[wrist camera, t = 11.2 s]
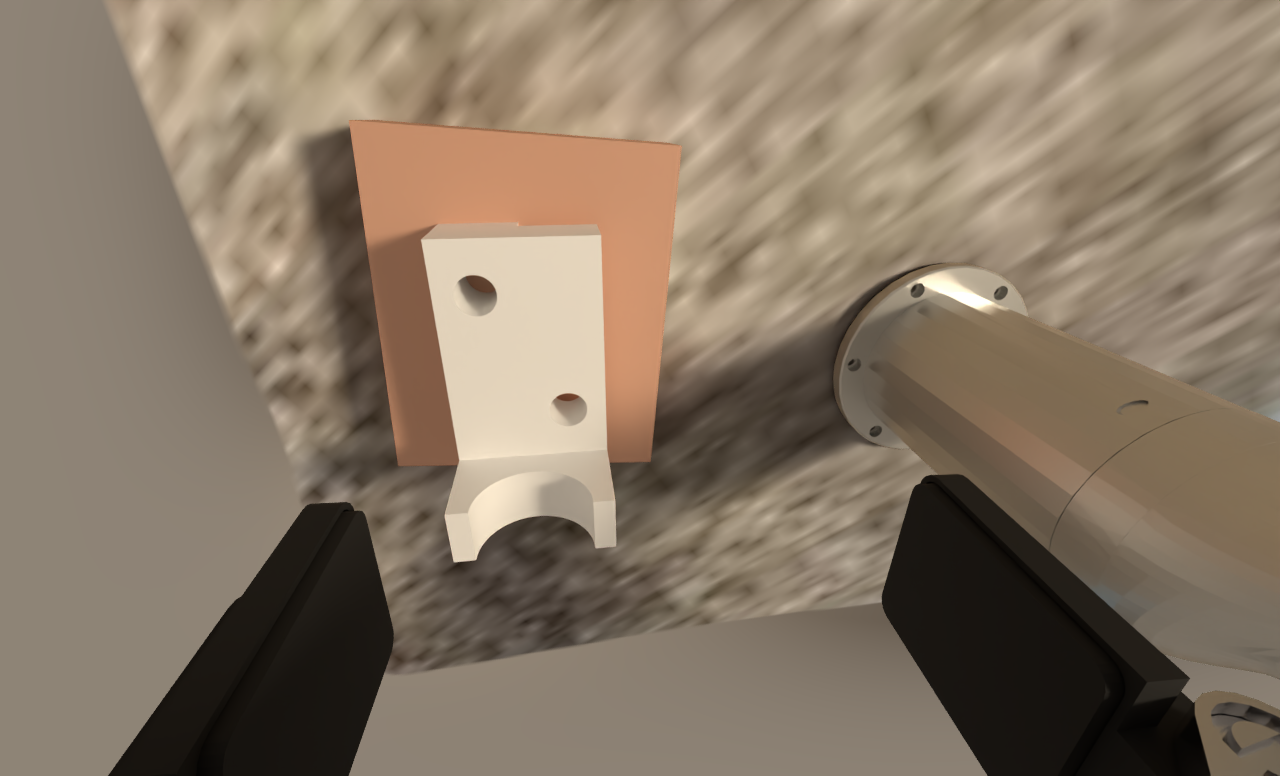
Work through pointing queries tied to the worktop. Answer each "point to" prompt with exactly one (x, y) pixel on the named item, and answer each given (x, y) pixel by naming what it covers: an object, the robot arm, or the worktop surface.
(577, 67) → the worktop surface
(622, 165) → the riser block
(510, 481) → the bracket
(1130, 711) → the robot arm
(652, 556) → the worktop surface
